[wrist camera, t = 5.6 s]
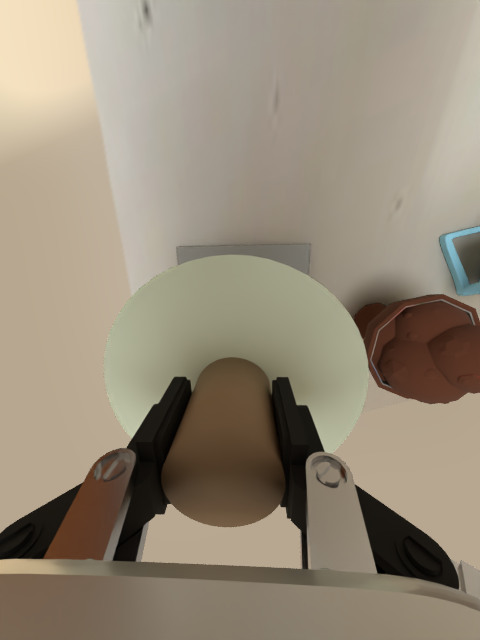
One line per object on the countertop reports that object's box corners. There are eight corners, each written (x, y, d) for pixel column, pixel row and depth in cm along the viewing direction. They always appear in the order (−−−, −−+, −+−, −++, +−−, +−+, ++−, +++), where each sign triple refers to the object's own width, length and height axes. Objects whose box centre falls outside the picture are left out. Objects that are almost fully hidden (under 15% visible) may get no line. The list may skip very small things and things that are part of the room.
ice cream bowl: (357, 270, 29) (463, 286, 15) (431, 303, 30) (599, 348, 16) (318, 340, 32) (375, 409, 18) (386, 368, 33) (493, 457, 18)
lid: (87, 257, 11) (-79, 264, 5) (381, 251, 10) (534, 253, 5) (134, 472, 15) (67, 600, 10) (344, 476, 14) (403, 616, 9)
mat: (177, 247, 29) (176, 246, 29) (309, 244, 28) (310, 243, 28) (188, 364, 34) (187, 366, 33) (301, 364, 33) (302, 366, 33)
